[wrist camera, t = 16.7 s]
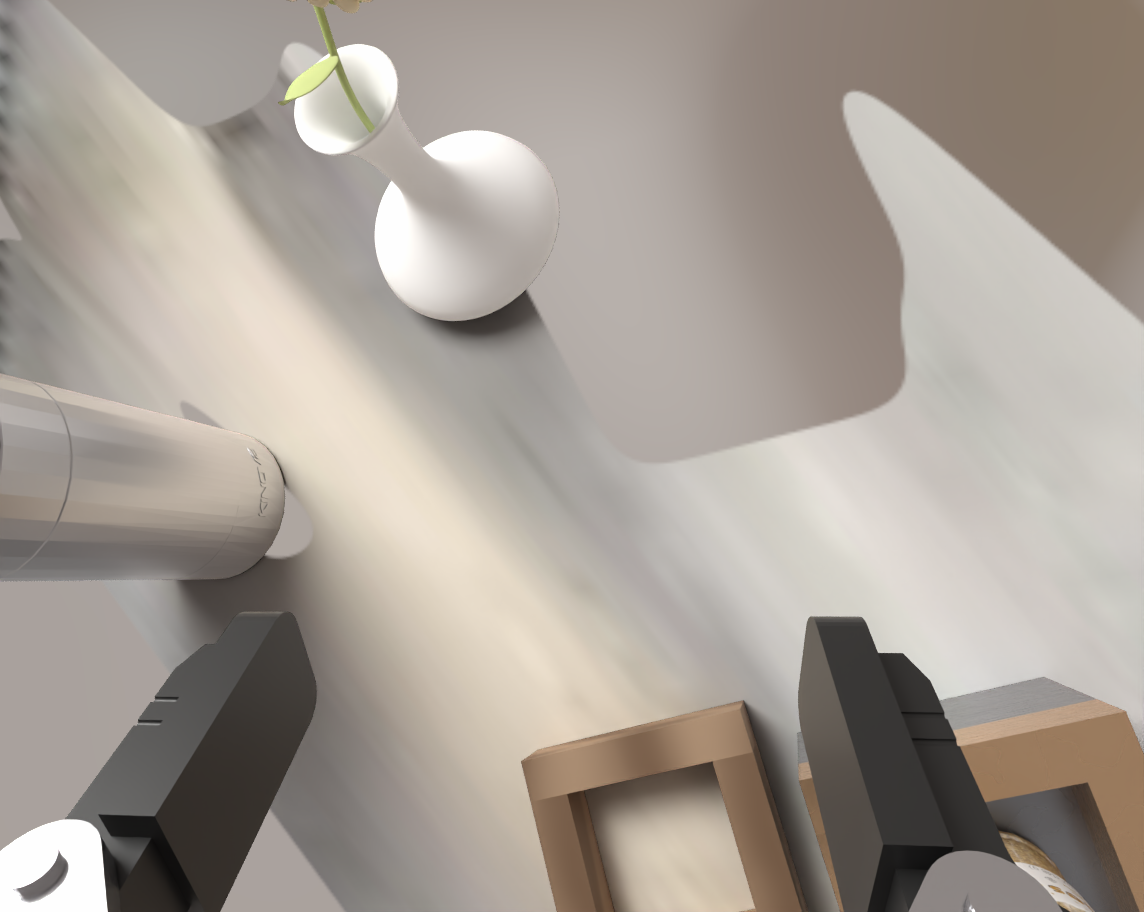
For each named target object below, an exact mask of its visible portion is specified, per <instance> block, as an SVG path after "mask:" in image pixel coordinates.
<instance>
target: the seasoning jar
mask: <svg viewBox="0 0 1144 912" xmlns="http://www.w3.org/2000/svg"><path fill="white" fill-rule="evenodd" d="M998 831H999V830H998ZM999 833H1000V836H1001V838H1002V840H1003V842H1004V844H1005V847H1006V849H1007V850H1008V852H1009V854H1010V856H1011V858H1012V859H1013V861H1014V862H1015V864H1016V865H1017V866H1018V867H1020V868H1021V869H1023V870H1024V871H1026V872H1027V873H1028V874H1030V875H1031V876H1032V877H1034V878H1035V879H1036V880H1037V881H1038V882H1039V883H1040V884H1041V885H1042V886H1043V887H1044V888H1045V889H1046V890H1047V891H1048V892H1049V893H1050V894H1051V896H1052V897H1053V898H1054V899H1055V901H1056V902H1057V904H1059V905H1060V906H1062V907H1063V908H1065V909H1067V910H1068V911H1070V912H1095V911H1094V910H1093V909H1092V908H1091V907H1090V906H1089V904H1088V903H1087V902H1086V901H1085V900H1084V899H1083V897H1082V896H1081V895H1080V894H1079V893H1078V892H1077V891H1076V890H1075V889H1074V888H1073V887H1072V886H1071V885H1069V884H1068V883H1067V882H1066V880H1065V879H1064V877H1063V876H1062V874H1061V872H1060V870H1059V869H1058V868H1057V866H1056V864H1055V863H1054V862H1053V861H1052V860H1051V859H1050V858H1049V857H1048V856H1047V855H1046V854H1045V853H1044V852H1043V851H1041V850H1040V849H1039V848H1038V847H1037V846H1035V845H1034V844H1032V843H1030V842H1029V841H1027V840H1025V839H1023V838H1021V837H1019V836H1017V835H1015V834H1012V833H1008V832H1003V831H999Z"/></svg>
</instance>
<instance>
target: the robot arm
mask: <svg viewBox="0 0 1144 912" xmlns="http://www.w3.org/2000/svg"><path fill="white" fill-rule="evenodd" d="M284 504H285V491H284V482H283V478H282V475H281V471H280V468H279V466H278V464H277V462H276V460H275V458H274V457H273V455H272V454H271V453H270V452H269V450H268V449H267V448H266V447H265V446H264V445H263V444H261V443H260V442H259V441H257V440H256V439H254V438H252V437H249V436H247V435H244V434H241V433H237V432H233V431H229V430H225V429H221V428H217V427H213V426H209V425H205V424H201V423H198V422H194V421H191V420H187V419H183V418H179V417H174V416H170V415H166V414H162V413H158V412H154V411H150V410H146V409H142V408H138V407H134V406H130V405H126V404H122V403H118V402H114V401H110V400H106V399H102V398H98V397H94V396H90V395H86V394H82V393H78V392H74V391H70V390H66V389H62V388H58V387H54V386H50V385H46V384H42V383H38V382H34V381H30V380H25V379H21V378H17V377H12V376H8V375H4V374H0V581H77V580H79V581H83V580H189V579H224V578H229V577H232V576H236V575H239V574H241V573H243V572H244V571H246V570H248V569H249V568H251V567H252V566H253V565H255V564H256V563H257V562H258V561H259V560H260V559H261V558H262V557H263V556H264V555H265V553H266V552H267V550H268V549H269V548H270V546H271V545H272V543H273V541H274V539H275V537H276V535H277V533H278V531H279V529H280V525H281V521H282V518H283V514H284ZM316 692H317V691H316V681H315V677H314V674H313V671H312V668H311V665H310V662H309V658H308V655H307V652H306V649H305V646H304V643H303V639H302V636H301V633H300V630H299V627H298V624H297V621H296V619H295V617H294V615H293V614H292V613H290V612H241V613H239V614H238V615H236V616H235V617H234V619H233V620H232V621H231V623H230V624H229V626H228V627H227V629H226V630H225V631H224V633H223V634H222V636H221V637H220V639H219V640H218V642H217V643H216V644H205V645H204V646H203V647H201V648H200V649H199V650H198V651H196V652H195V653H194V654H193V655H192V656H190V657H189V658H188V659H187V660H185V661H184V662H183V663H182V664H180V665H179V666H178V667H177V668H175V670H174V671H173V672H172V674H171V675H170V676H169V678H168V679H167V681H166V682H165V683H164V685H163V686H162V687H161V689H160V690H159V692H158V693H157V694H156V696H155V701H154V702H150V704H149V705H148V707H147V708H146V710H145V711H144V712H143V713H142V715H141V716H140V718H139V719H138V724H137V726H133V727H132V729H131V730H130V731H129V733H128V734H127V736H126V737H125V738H124V740H123V741H122V742H121V744H120V745H119V746H118V748H117V749H116V751H115V752H114V753H113V755H112V756H111V758H110V759H109V760H108V762H107V763H106V764H105V766H104V767H103V768H102V770H101V771H100V772H99V774H98V775H97V776H96V778H95V779H94V781H93V782H92V784H91V785H90V786H89V787H88V789H87V790H86V792H85V793H84V794H83V796H82V797H81V798H80V800H79V801H78V803H77V804H76V805H75V807H74V808H73V809H72V811H71V812H70V813H69V815H68V816H67V817H66V818H65V820H61V821H56V822H53V823H49V824H46V825H43V826H41V827H39V828H36V829H34V830H32V831H30V832H28V833H26V834H25V835H23V836H21V837H20V838H18V839H17V840H15V841H14V842H12V843H11V844H10V845H8V846H7V847H6V848H4V849H3V850H2V851H1V852H0V912H220V911H221V909H222V907H223V905H224V903H225V900H226V898H227V896H228V894H229V892H230V890H231V888H232V886H233V884H234V881H235V879H236V877H237V875H238V873H239V871H240V869H241V867H242V865H243V863H244V861H245V858H246V856H247V854H248V852H249V850H250V848H251V846H252V844H253V842H254V839H255V837H256V835H257V833H258V831H259V829H260V827H261V825H262V823H263V820H264V818H265V816H266V814H267V812H268V810H269V808H270V806H271V804H272V802H273V800H274V797H275V795H276V793H277V791H278V789H279V787H280V785H281V783H282V781H283V779H284V776H285V774H286V772H287V770H288V768H289V766H290V764H291V762H292V760H293V758H294V755H295V753H296V751H297V749H298V747H299V745H300V743H301V741H302V739H303V737H304V734H305V732H306V730H307V728H308V726H309V724H310V722H311V719H312V717H313V714H314V710H315V704H316ZM798 708H799V719H800V726H801V732H802V736H803V741H804V745H805V749H806V753H807V758H808V762H809V766H810V770H811V775H812V779H813V783H814V787H815V792H816V796H817V800H818V804H819V809H820V813H821V817H822V821H823V825H824V830H825V834H826V838H827V842H828V847H829V851H830V855H831V859H832V864H833V868H834V872H835V876H836V881H837V885H838V889H839V893H840V898H841V902H842V906H843V910H844V912H1070V911H1068V910H1067V909H1065V908H1063V907H1062V906H1060V905H1059V904H1057V902H1056V901H1055V899H1054V898H1053V897H1052V896H1051V894H1050V893H1049V892H1048V891H1047V890H1046V889H1045V888H1044V887H1043V886H1042V885H1041V884H1040V883H1039V882H1038V881H1037V880H1036V879H1035V878H1034V877H1032V876H1031V875H1030V874H1028V873H1027V872H1026V871H1024V870H1023V869H1021V868H1020V867H1018V866H1017V865H1016V864H1015V862H1014V861H1013V859H1012V858H1011V856H1010V854H1009V852H1008V850H1007V849H1006V847H1005V844H1004V842H1003V840H1002V838H1001V836H1000V833H999V831H998V829H997V827H996V825H995V822H994V820H993V818H992V816H991V814H990V811H989V809H988V807H987V805H986V803H985V800H984V798H983V796H982V794H981V792H980V789H979V787H978V785H977V783H976V781H975V778H974V776H973V774H972V772H971V770H970V767H969V765H968V763H967V761H966V759H965V756H964V754H963V752H962V750H961V748H960V746H957V739H956V737H955V734H954V732H953V730H952V728H951V726H950V723H949V721H948V719H945V715H944V714H945V712H944V710H943V708H942V706H941V704H940V701H939V699H938V697H937V695H936V693H935V690H934V688H933V686H932V684H931V682H930V680H929V679H928V678H927V677H926V676H925V675H924V674H923V673H922V672H921V671H920V670H919V669H918V668H917V667H916V666H915V665H914V664H913V663H912V662H911V661H910V660H909V659H908V658H907V657H906V656H905V655H904V654H903V653H878V652H877V649H876V647H875V644H874V642H873V639H872V637H871V634H870V632H869V629H868V626H867V624H866V622H865V620H864V619H863V618H862V617H809V619H808V621H807V626H806V634H805V642H804V650H803V658H802V666H801V674H800V682H799V691H798Z"/></svg>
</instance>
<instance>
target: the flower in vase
mask: <svg viewBox="0 0 1144 912" xmlns="http://www.w3.org/2000/svg"><path fill="white" fill-rule="evenodd" d="M288 1H293V2H294V1H297V0H288ZM307 1H308V2H309V3H310V4H312V5H313V6H314V9H315V12H316V15H317V18H318V21H319V24H320V27H321V30H322V33H323V36H324V39H325V42H326V46H327V49H328V52H329V54H328V55H326V56H325V57H324V58H322V59H321V60H320V61H319V62H318V63H317V64H315V65H313V66H312V67H310V68H309V69H308V70H306V71H305V72H304V73H302V74H301V75H300V76H299V77H298V78H297V79H296V80H295V81H294V82H293V83H292V84H291V85H290V87H289V89H288V91H287V93H286V96H285V100H284V101H281V102H278V103H279V104H280V105H285V104H287V103H289V102H290V101H292V100H294V99H296V102H295V123H296V127H297V130H298V133H299V135H300V137H301V138H302V140H303V141H304V142H305V143H306V144H307V145H308V146H309V147H310V148H312V149H313V150H315V151H317V152H320V153H322V154H326V155H334V156H339V155H346V154H352V155H355V156H358V157H360V158H362V159H363V160H365V161H367V162H369V163H370V164H371V165H373V166H374V167H376V168H377V169H379V170H380V171H381V172H382V173H383V174H384V175H386V176H387V177H388V178H389V179H390V180H391V183H390V184H389V186H388V188H387V190H386V192H385V194H384V196H383V198H382V201H381V204H380V207H379V210H378V214H377V219H376V226H375V246H376V253H377V257H378V261H379V264H380V267H381V269H382V272H383V274H384V277H385V279H386V281H387V283H388V284H389V286H390V288H391V289H392V291H393V292H394V293H395V294H396V296H397V297H398V298H399V299H400V300H401V301H402V302H403V303H405V304H406V305H407V306H408V307H410V308H411V309H413V310H414V311H416V312H418V313H420V314H422V315H425V316H427V317H430V318H434V319H438V320H446V321H463V320H469V319H475V318H478V317H482V316H485V315H488V314H490V313H492V312H494V311H497V310H499V309H500V308H502V307H504V306H505V305H507V304H509V303H510V302H512V301H513V300H514V299H515V298H517V297H518V296H519V295H521V294H522V293H523V292H524V291H525V290H526V289H527V288H528V287H529V286H530V285H531V283H532V282H533V281H534V280H535V278H536V277H537V276H538V275H539V273H540V272H541V270H542V268H543V267H544V265H545V264H546V261H547V260H548V257H549V255H550V253H551V251H552V248H553V245H554V242H555V239H556V235H557V230H558V225H559V200H558V195H557V190H556V186H555V184H554V181H553V178H552V176H551V174H550V172H549V171H548V168H547V167H546V165H545V164H544V163H543V161H542V160H541V159H540V158H539V157H538V156H537V155H536V154H535V153H534V152H533V151H532V150H531V149H529V148H528V147H526V146H525V145H523V144H522V143H520V142H518V141H516V140H514V139H512V138H509V137H507V136H504V135H501V134H498V133H494V132H489V131H465V132H459V133H455V134H451V135H448V136H445V137H443V138H440V139H438V140H436V141H434V142H432V143H430V144H429V145H427V146H426V147H424V148H422V147H421V145H420V144H419V143H418V141H417V140H416V139H415V138H414V136H413V135H412V133H411V132H410V130H409V129H408V127H407V125H406V124H405V122H404V120H403V118H402V116H401V114H400V112H399V108H398V104H397V102H398V97H399V81H398V76H397V72H396V69H395V67H394V65H393V63H392V61H391V60H390V59H389V57H388V56H387V55H386V54H385V53H383V52H382V51H381V50H379V49H377V48H375V47H372V46H369V45H362V44H358V45H349V46H345V47H342V48H339V49H336V46H335V43H334V40H333V37H332V34H331V31H330V28H329V24H328V21H327V18H326V15H325V12H324V9H323V7H326V6H327V5H328V3H330V4H334V5H337V6H338V7H339V8H340V9H341V10H343V11H345V12H347V13H355V12H357V11H358V10H359V3H360V2H371V1H373V0H307Z"/></svg>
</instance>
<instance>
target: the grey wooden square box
mask: <svg viewBox="0 0 1144 912" xmlns="http://www.w3.org/2000/svg"><path fill="white" fill-rule="evenodd" d="M940 704H941V706H942V708H943V710H944V712H945V714H944V715H945V719H948V721H949V723H950V726H951V728H952V730H953V732H954V734H955V737H956V739H957V746H960V748H961V750H962V752H963V754H964V756H965V759H966V761H967V763H968V765H969V767H970V770H971V772H972V774H973V776H974V778H975V781H976V783H977V785H978V787H979V789H980V792H981V794H982V796H983V798H984V800H985V803H986V805H987V807H988V809H989V811H990V814H991V816H992V818H993V820H994V822H995V825H996V827H997V829H998V830H999V831H1003V832H1008V833H1012V834H1015V835H1017V836H1019V837H1021V838H1023V839H1025V840H1027V841H1029V842H1030V843H1032V844H1034V845H1035V846H1037V847H1038V848H1039V849H1040V850H1041V851H1043V852H1044V853H1045V854H1046V855H1047V856H1048V857H1049V858H1050V859H1051V860H1052V861H1053V862H1054V863H1055V864H1056V866H1057V868H1058V869H1059V870H1060V872H1061V874H1062V876H1063V877H1064V879H1065V880H1066V882H1067V883H1068V884H1069V885H1071V886H1072V887H1073V888H1074V889H1075V890H1076V891H1077V892H1078V893H1079V894H1080V895H1081V896H1082V897H1083V899H1084V900H1085V901H1086V902H1087V903H1088V904H1089V906H1090V907H1091V908H1092V909H1093V910H1094V911H1095V912H1144V754H1143V751H1142V749H1141V747H1140V744H1139V742H1138V739H1137V737H1136V735H1135V732H1134V730H1133V728H1132V725H1131V723H1130V720H1129V718H1128V716H1127V713H1126V711H1124V710H1121V709H1119V708H1117V707H1114V706H1112V705H1109V704H1107V703H1105V702H1102V701H1100V700H1097V699H1095V698H1093V697H1090V696H1088V695H1086V694H1083V693H1081V692H1078V691H1076V690H1074V689H1071V688H1069V687H1066V686H1064V685H1062V684H1059V683H1057V682H1054V681H1052V680H1050V679H1047V678H1045V677H1042V678H1038V679H1033V680H1029V681H1024V682H1020V683H1016V684H1011V685H1007V686H1002V687H998V688H994V689H989V690H985V691H980V692H976V693H972V694H967V695H963V696H958V697H954V698H950V699H945V700H941V701H940ZM797 734H798V767H799V783H800V786H801V789H802V792H803V795H804V798H805V801H806V805H807V808H808V811H809V814H810V817H811V820H812V824H813V827H814V830H815V833H816V836H817V839H818V842H819V846H820V849H821V852H822V855H823V858H824V861H825V865H826V868H827V871H828V874H829V877H830V880H831V884H832V887H833V890H834V893H835V896H836V899H837V902H838V906H839V909H840V912H844V910H843V906H842V902H841V898H840V893H839V889H838V885H837V881H836V876H835V872H834V868H833V864H832V859H831V855H830V851H829V847H828V842H827V838H826V834H825V830H824V825H823V821H822V817H821V813H820V809H819V804H818V800H817V796H816V792H815V787H814V783H813V779H812V775H811V770H810V766H809V762H808V758H807V753H806V749H805V745H804V741H803V736H802V732H800V733H797Z"/></svg>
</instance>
